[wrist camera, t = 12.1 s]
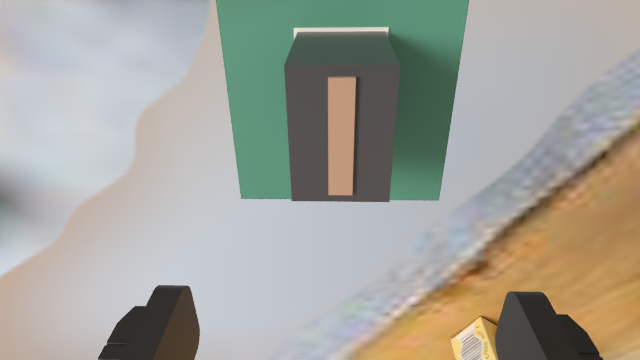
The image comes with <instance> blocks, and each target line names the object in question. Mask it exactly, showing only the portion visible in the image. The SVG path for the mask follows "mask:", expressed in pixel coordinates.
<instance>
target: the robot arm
mask: <svg viewBox="0 0 640 360" xmlns="http://www.w3.org/2000/svg"><path fill="white" fill-rule="evenodd" d="M199 332H200V329H199V323H198V319H197V314H196V310H195V306H194V301H193V297H192V293H191V290H190V287H189V286H173V285H159V286H157V287H156V288H155V289H154V291H153V293H152V295H151V297H150V299H149V301H148V303H147V305H146V306H135V307H134V308H133V309H131V311H129V312H128V313H127V314H126V315H125V316H124V317H123V318H122V319H121V320H120V321H119V322H118V323H117V325H116V327H115V328H114V330H113V332H112V334H111V336H110V337H109V339H108V341H107V345H106V346H104V348H103V350H102V352H101V354H100V356H99V357H98V360H194V358H195V355H196V352H197V349H198V344H199V336H200V335H199V334H200V333H199ZM495 346H496V352H497V357H498V360H603V358H602V357H600V356H599V352H598V350H597V348H596V347H595V345H594V344H593V342H592V340H591V339H590V337H589V335H588V334H587V332H586V331H585V330H583V329H582V328H581V327H580V326H579V325H578V324H577V323H576V322H575V321H574V320H572V319H571V318H570V317H569V316H568V315H561V314H556V312H555V311H554V309H553V307H552V305H551V304H550V302H549V300H548V298H547V297H546V295H545V294H544V293H542V292H508V294H507V295H506V298H505V302H504V305H503V309H502V312H501V315H500V319H499V322H498V326H497V329H496V334H495Z"/></svg>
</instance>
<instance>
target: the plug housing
mask: <svg viewBox="0 0 640 360" xmlns="http://www.w3.org/2000/svg"><path fill="white" fill-rule="evenodd" d="M400 66H401V65H400V62H399V60H398V58H397V56H396V54H395V52H394V49H393V47H392V45H391V43H390V41H389V39H388V36H387V34H386V32H385V31H353V32H297V34H296V37H295V39H294V42H293V44H292V47H291V49H290V52H289V54H288V57H287V59H286V62H285V64H284V73H285V90H286V108H287V126H288V144H289V162H290V179H291V197H292V201H352V202H389V200H390V188H391V176H392V164H393V151H394V139H395V127H396V115H397V102H398V90H399V78H400Z"/></svg>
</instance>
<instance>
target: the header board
mask: <svg viewBox="0 0 640 360" xmlns="http://www.w3.org/2000/svg"><path fill="white" fill-rule="evenodd" d="M216 3H217V12H218V19H219V27H220V36H221V44H222V50H223V59H224V67H225V75H226V82H227V91H228V98H229V106H230V114H231V122H232V130H233V138H234V146H235V153H236V161H237V169H238V177H239V184H240V193H241V198H242V199H292V197H291V179H290V162H289V144H288V126H287V108H286V90H285V73H284V64H285V62H286V59H287V57H288V54H289V52H290V49H291V47H292V44H293V42H294V39H295V37H296V34H297V32H353V31H385V32H386V34H387V36H388V39H389V41H390V43H391V45H392V47H393V49H394V52H395V54H396V56H397V58H398V60H399V62H400V65H401V66H400V78H399V90H398V102H397V115H396V127H395V139H394V151H393V164H392V176H391V188H390V200H439V196H440V189H441V183H442V176H443V170H444V163H445V156H446V150H447V143H448V136H449V130H450V123H451V117H452V110H453V103H454V97H455V90H456V84H457V77H458V70H459V64H460V57H461V50H462V43H463V37H464V31H465V24H466V17H467V11H468V4H469V0H216Z"/></svg>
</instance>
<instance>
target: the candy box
mask: <svg viewBox="0 0 640 360" xmlns="http://www.w3.org/2000/svg"><path fill="white" fill-rule="evenodd" d="M496 329H497V326H496V325H494V324H493V323H491V322H489V321H488V320H486V319H484V318H482V317H479V318H478V319H477V320H475V321H474V322H473V323H472V324H470V325H469V326H468V327H466V328H465V329H464V330H463V331H461V332H460V333H459V334H458V335H456V336H455V337H454V338H452V339H451V344H452V347H453V351H454V354H455V358H456V360H498V357H497V352H496V346H495V334H496Z"/></svg>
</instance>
